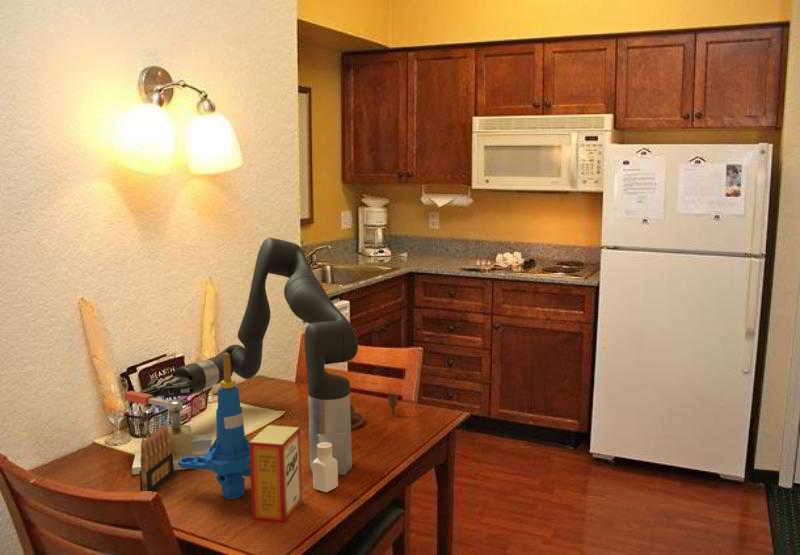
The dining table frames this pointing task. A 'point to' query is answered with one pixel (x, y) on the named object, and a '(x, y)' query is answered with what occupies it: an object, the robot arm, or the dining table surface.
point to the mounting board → (137, 464)
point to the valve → (226, 441)
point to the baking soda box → (275, 473)
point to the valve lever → (152, 400)
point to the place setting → (392, 402)
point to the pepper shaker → (325, 468)
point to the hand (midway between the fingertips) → (141, 396)
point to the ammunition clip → (156, 460)
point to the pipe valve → (186, 439)
